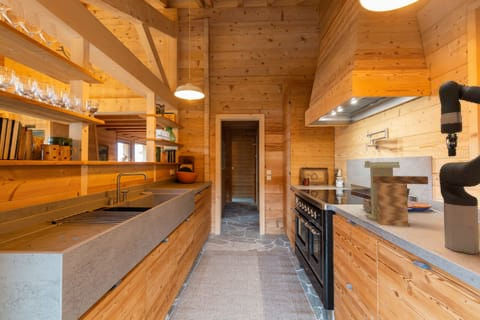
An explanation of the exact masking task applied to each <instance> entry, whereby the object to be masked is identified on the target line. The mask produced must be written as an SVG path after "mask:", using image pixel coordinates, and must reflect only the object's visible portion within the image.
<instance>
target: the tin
mask: <svg viewBox="0 0 480 320" xmlns="http://www.w3.org/2000/svg"><path fill="white" fill-rule="evenodd" d="M362 207H363V210H364V211H365V212H366V213H367V214H371V199H369V198H363V199H362Z"/></svg>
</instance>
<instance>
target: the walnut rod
mask: <svg viewBox="0 0 480 320" xmlns="http://www.w3.org/2000/svg"><path fill="white" fill-rule="evenodd" d="M373 183H381V184H407V185H429V176H426V175H393V176H373Z"/></svg>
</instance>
